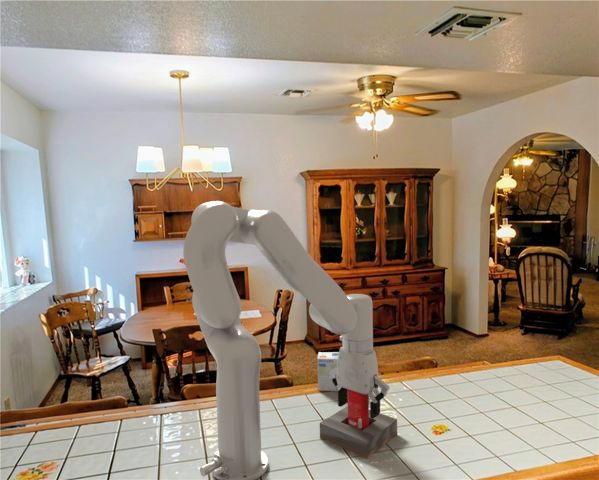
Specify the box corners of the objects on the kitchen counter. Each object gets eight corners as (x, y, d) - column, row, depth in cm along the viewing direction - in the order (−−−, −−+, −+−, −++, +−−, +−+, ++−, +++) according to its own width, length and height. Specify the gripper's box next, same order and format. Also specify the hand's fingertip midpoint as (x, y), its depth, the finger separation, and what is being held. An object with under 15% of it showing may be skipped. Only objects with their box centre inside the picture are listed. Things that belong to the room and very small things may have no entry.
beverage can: (344, 430, 110) (343, 385, 109) (361, 425, 112) (361, 381, 111) (355, 440, 105) (354, 392, 104) (373, 435, 107) (372, 388, 106)
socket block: (366, 458, 99) (366, 442, 99) (319, 438, 108) (319, 422, 108) (397, 434, 109) (397, 419, 109) (352, 417, 119) (351, 403, 118)
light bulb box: (350, 383, 142) (350, 351, 141) (351, 392, 135) (350, 358, 134) (318, 382, 143) (318, 351, 142) (317, 391, 136) (316, 358, 135)
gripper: (321, 341, 110) (322, 405, 111) (379, 355, 99) (380, 427, 100) (338, 334, 116) (339, 395, 117) (396, 347, 104) (396, 415, 105)
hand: (358, 410), depth 108 cm, fingers open, 9 cm apart
